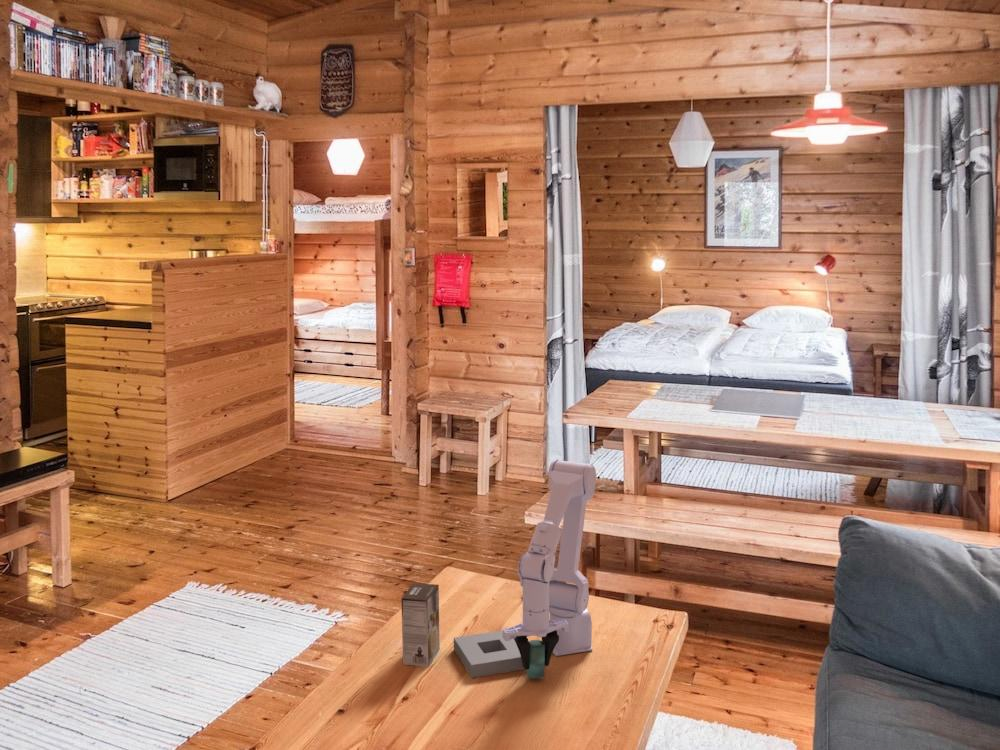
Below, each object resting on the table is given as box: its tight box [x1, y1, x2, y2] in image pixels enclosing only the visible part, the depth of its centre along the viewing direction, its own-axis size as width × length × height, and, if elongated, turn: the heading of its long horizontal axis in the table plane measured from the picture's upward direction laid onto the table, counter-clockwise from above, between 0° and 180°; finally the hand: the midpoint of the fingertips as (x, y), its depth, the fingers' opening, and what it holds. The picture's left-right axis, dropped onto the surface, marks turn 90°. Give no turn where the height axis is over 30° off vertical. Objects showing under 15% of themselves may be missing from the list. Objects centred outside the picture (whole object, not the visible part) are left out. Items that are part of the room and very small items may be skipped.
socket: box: [453, 629, 525, 679], centre depth 208 cm, size 14×14×3 cm
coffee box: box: [400, 582, 441, 668], centre depth 208 cm, size 9×6×16 cm
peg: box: [525, 639, 546, 679], centre depth 198 cm, size 4×4×7 cm
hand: (535, 665), depth 199 cm, fingers closed on peg, 4 cm apart
